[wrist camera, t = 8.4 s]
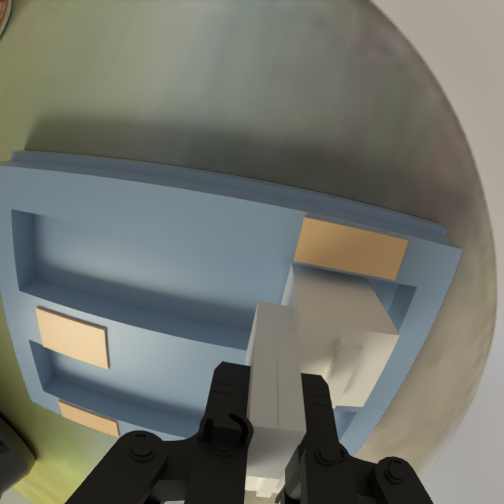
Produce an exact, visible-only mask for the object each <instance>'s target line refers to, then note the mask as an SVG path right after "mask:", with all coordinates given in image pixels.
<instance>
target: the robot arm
mask: <svg viewBox="0 0 504 504" xmlns="http://www.w3.org/2000/svg"><path fill="white" fill-rule="evenodd" d="M330 397H331V396H330V391H329V386H328V384H327V383H326V381H325V380H324V379H323V377H322V376H321V375H316V374H307V373H301V371H300V362H299V353H298V344H297V336H296V329H295V320H294V312H293V307H291V306H286V305H280V304H274V303H269V302H263V301H258V303H257V308H256V312H255V317H254V321H253V326H252V330H251V335H250V339H249V343H248V348H247V353H246V363H245V365H241V364H236V363H230V362H225V361H222V362H221V363H220V364H219V365H218V366H217V367H216V368H215V369H214V373H213V377H212V382H211V386H210V391H209V395H208V400H207V404H206V409H205V413H204V416H203V418H202V420H201V422H200V425H199V431H198V432H197V433H196V434H195V435H193V436H192V437H189V438H187V439H183V440H173V441H163V440H162V439H161V438H160V437H158V436H157V435H155V434H154V433H151V432H148V431H145V430H134V431H131V432H127V433H125V434H124V435H123V436H121V437H120V438H119V439H118V440H117V442H116V443H115V444H114V445H113V446H112V448H111V449H110V450H109V451H108V452H107V454H106V455H105V456H104V457H103V459H102V460H101V461H100V462H99V463H98V465H97V466H96V467H95V468H94V469H93V470H92V472H91V473H90V474H89V475H88V476H87V478H86V479H85V480H84V481H83V482H82V484H81V485H80V486H79V487H78V488H77V490H76V491H75V492H74V493H73V494H72V495H71V497H70V498H69V499H68V500H67V501H66V503H65V504H164V503H165V501H181V500H185V502H184V504H244V495H245V483H246V476H253V477H262V478H273V479H281V478H282V476H283V474H284V472H285V484H284V486H283V488H282V489H281V491H280V492H279V494H278V496H277V497H276V500H275V503H279V501H280V500H281V504H433V502H432V500H431V498H430V497H429V495H428V493H427V492H426V490H425V488H424V486H423V485H422V483H421V481H420V480H419V478H418V476H417V475H416V473H415V471H414V470H413V468H412V467H411V466H410V464H409V463H408V462H406V461H405V460H403V459H401V458H398V457H386V458H384V459H382V460H380V461H379V462H378V463H377V464H375V463H371V462H368V461H364V460H360V459H357V458H355V457H353V456H351V455H349V453H348V451H347V449H346V448H345V447H344V446H343V445H342V444H341V443H340V442H339V439H338V434H337V428H336V423H335V417H334V412H333V408H332V401H331V399H330ZM34 464H35V459H34V456H33V454H32V453H31V451H30V449H29V448H28V447H27V445H26V444H25V443H24V442H23V440H22V439H21V438H20V437H19V436H18V435H17V434H16V433H15V432H14V431H13V430H12V428H11V427H10V426H9V425H8V424H7V423H6V422H5V421H3V420H2V419H1V418H0V499H1V497H2V495H3V494H4V492H6V491H7V490H8V489H9V488H11V487H12V486H14V485H15V484H16V483H18V482H19V481H20V480H21V479H23V478H24V477H25V476H27V475H28V474H29V473H30V471H31V469H32V467H33V466H34Z"/></svg>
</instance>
